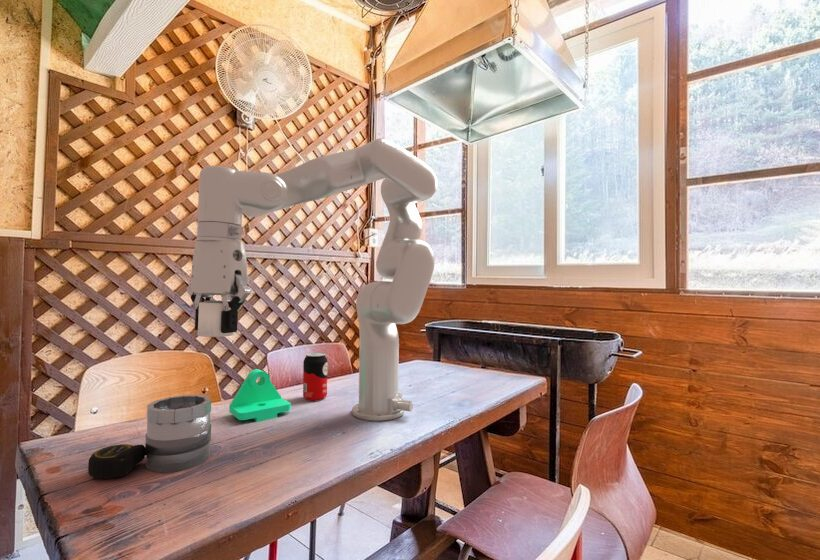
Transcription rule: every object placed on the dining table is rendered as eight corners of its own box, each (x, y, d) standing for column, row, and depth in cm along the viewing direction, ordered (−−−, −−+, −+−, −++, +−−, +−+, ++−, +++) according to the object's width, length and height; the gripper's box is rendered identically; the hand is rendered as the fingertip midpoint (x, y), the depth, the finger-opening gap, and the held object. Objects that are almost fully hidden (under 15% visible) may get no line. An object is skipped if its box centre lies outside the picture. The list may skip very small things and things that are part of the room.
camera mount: (240, 425, 89) (240, 378, 89) (229, 416, 95) (229, 372, 95) (292, 414, 97) (292, 371, 97) (279, 407, 102) (279, 366, 102)
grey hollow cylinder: (223, 454, 74) (224, 398, 74) (171, 477, 65) (172, 414, 65) (185, 444, 78) (186, 392, 78) (131, 465, 69) (132, 406, 69)
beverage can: (309, 403, 105) (309, 357, 105) (299, 397, 110) (299, 353, 110) (331, 399, 109) (331, 354, 109) (320, 394, 114) (321, 351, 114)
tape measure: (124, 483, 63) (125, 459, 63) (76, 484, 62) (77, 460, 62) (148, 463, 70) (148, 441, 70) (105, 464, 69) (105, 442, 69)
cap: (240, 334, 77) (241, 301, 77) (213, 337, 72) (214, 301, 72) (217, 332, 80) (219, 300, 80) (190, 335, 74) (191, 300, 74)
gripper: (269, 236, 76) (266, 332, 75) (204, 238, 83) (201, 326, 83) (237, 230, 69) (233, 336, 69) (169, 233, 76) (165, 329, 76)
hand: (215, 330), depth 76 cm, fingers closed on cap, 6 cm apart
